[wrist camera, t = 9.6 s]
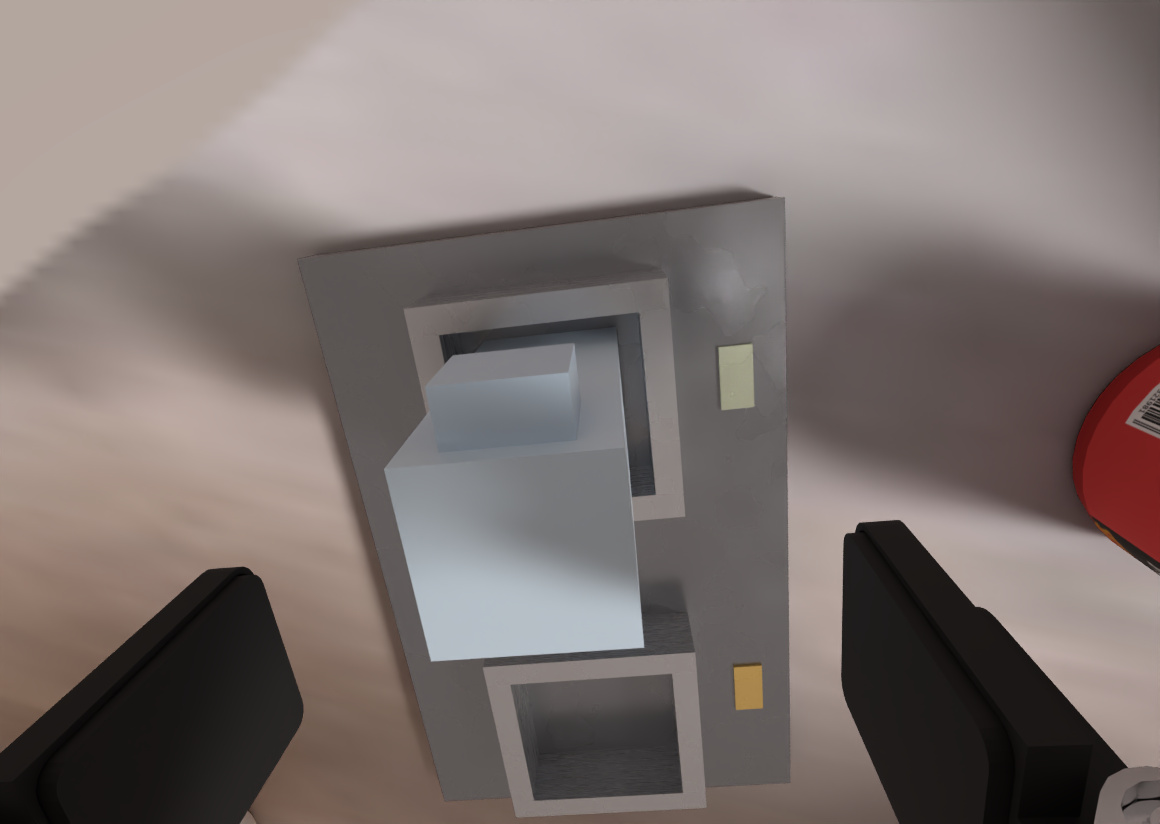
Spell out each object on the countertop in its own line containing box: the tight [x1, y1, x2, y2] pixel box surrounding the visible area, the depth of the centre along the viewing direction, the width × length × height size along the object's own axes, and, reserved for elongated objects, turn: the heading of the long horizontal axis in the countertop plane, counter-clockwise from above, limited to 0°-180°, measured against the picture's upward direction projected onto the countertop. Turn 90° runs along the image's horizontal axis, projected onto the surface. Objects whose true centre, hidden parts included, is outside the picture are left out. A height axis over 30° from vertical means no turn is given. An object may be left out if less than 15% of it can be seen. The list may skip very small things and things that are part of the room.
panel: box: [297, 197, 790, 818], centre depth 21 cm, size 22×14×3 cm, turn 7°
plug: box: [384, 327, 644, 661], centre depth 15 cm, size 5×4×9 cm
